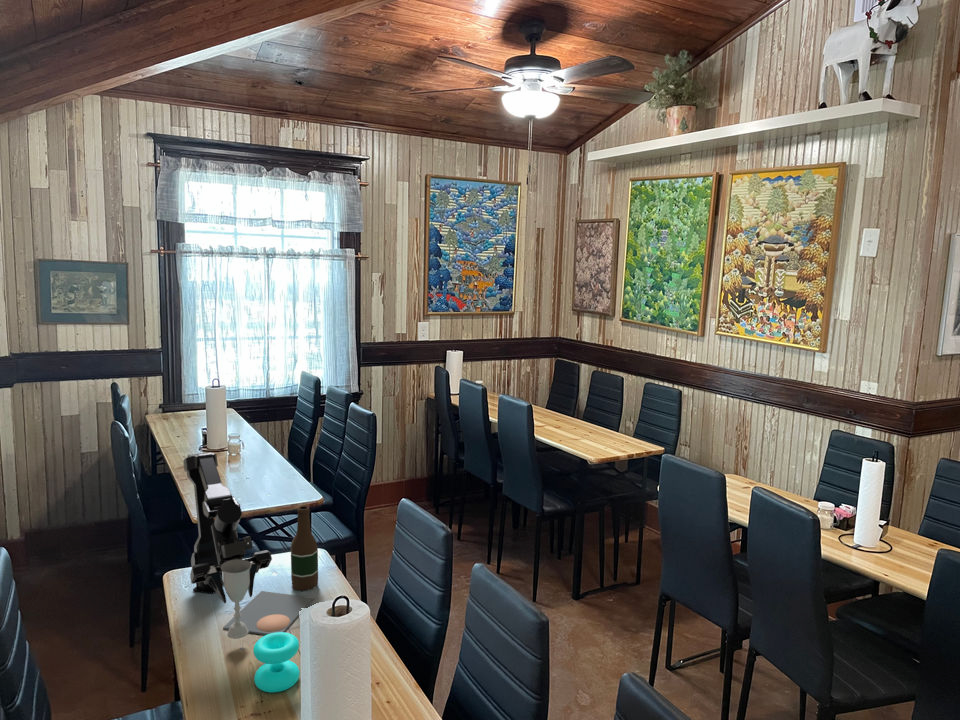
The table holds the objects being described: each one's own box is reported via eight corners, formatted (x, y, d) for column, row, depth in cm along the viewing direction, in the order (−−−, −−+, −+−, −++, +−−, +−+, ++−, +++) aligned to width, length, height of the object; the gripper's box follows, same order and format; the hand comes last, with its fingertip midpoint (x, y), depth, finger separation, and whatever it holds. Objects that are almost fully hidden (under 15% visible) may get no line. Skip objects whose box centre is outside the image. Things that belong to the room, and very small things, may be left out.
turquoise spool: (302, 648, 158) (255, 657, 154) (303, 689, 160) (257, 699, 156) (294, 626, 167) (250, 634, 163) (295, 664, 169) (252, 674, 165)
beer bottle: (323, 585, 208) (322, 507, 204) (300, 594, 202) (299, 514, 198) (308, 576, 213) (307, 500, 209) (285, 585, 207) (284, 507, 203)
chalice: (258, 628, 177) (257, 562, 174) (241, 643, 171) (239, 575, 167) (234, 622, 180) (232, 557, 176) (216, 636, 173) (214, 569, 170)
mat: (223, 629, 183) (223, 626, 183) (261, 592, 203) (261, 590, 203) (280, 637, 180) (280, 635, 180) (313, 599, 200) (313, 597, 200)
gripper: (190, 534, 169) (201, 597, 162) (268, 519, 179) (282, 578, 171) (185, 552, 177) (196, 613, 170) (261, 537, 187) (274, 594, 179)
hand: (238, 599), depth 172 cm, fingers closed on chalice, 6 cm apart
